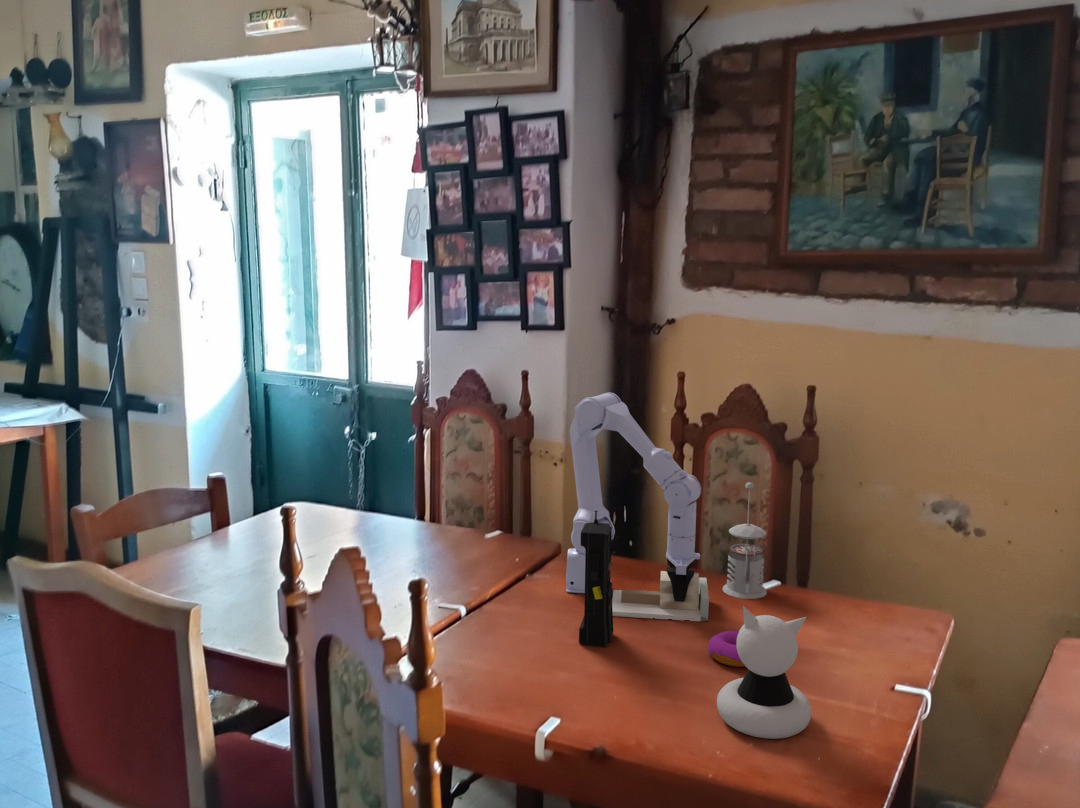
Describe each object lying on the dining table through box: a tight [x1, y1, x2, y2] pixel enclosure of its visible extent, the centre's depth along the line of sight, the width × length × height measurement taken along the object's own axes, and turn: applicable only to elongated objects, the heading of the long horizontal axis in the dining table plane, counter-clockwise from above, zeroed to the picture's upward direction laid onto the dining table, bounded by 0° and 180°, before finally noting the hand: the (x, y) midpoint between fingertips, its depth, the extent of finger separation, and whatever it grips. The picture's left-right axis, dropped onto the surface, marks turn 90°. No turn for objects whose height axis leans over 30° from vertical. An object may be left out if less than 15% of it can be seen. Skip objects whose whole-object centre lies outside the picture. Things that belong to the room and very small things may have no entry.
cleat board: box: [612, 576, 710, 622], centre depth 189 cm, size 20×12×5 cm, turn 82°
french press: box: [722, 481, 768, 600], centre depth 196 cm, size 10×12×25 cm
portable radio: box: [578, 511, 615, 647], centre depth 171 cm, size 8×6×25 cm
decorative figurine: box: [716, 605, 812, 740], centre depth 142 cm, size 15×15×20 cm
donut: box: [707, 630, 746, 668], centre depth 165 cm, size 10×10×4 cm
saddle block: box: [659, 570, 700, 610], centre depth 188 cm, size 8×6×6 cm
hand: (679, 595), depth 188 cm, fingers closed on saddle block, 6 cm apart
